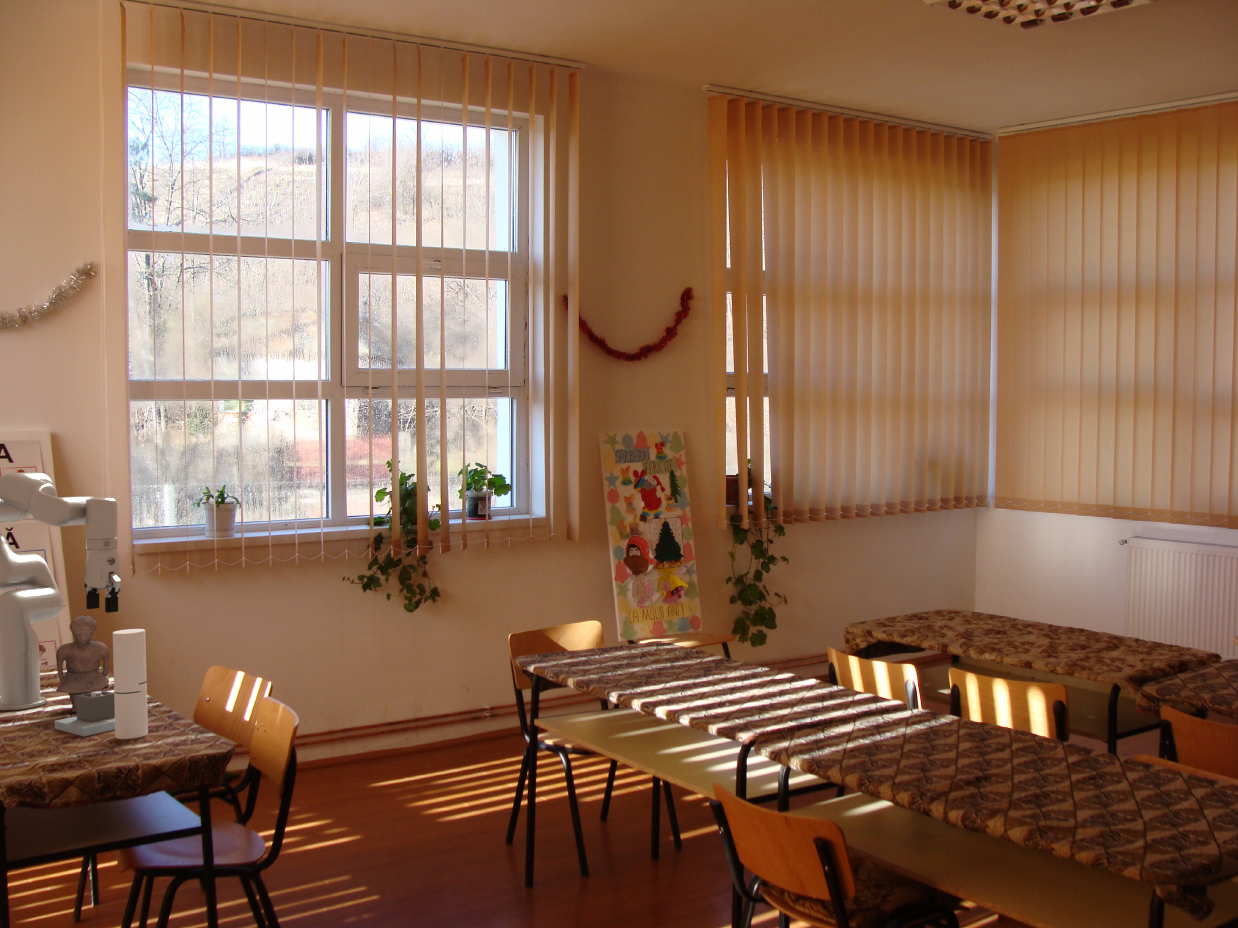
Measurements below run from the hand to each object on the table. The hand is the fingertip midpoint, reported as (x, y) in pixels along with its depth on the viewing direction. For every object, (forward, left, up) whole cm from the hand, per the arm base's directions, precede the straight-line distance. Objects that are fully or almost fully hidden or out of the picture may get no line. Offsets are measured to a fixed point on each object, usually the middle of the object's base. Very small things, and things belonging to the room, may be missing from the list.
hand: (102, 610), depth 280 cm
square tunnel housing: (+11, -8, -25) cm, 29 cm away
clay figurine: (-11, 0, -27) cm, 29 cm away
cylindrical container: (+27, -8, -27) cm, 40 cm away
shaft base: (+11, -8, -27) cm, 30 cm away
